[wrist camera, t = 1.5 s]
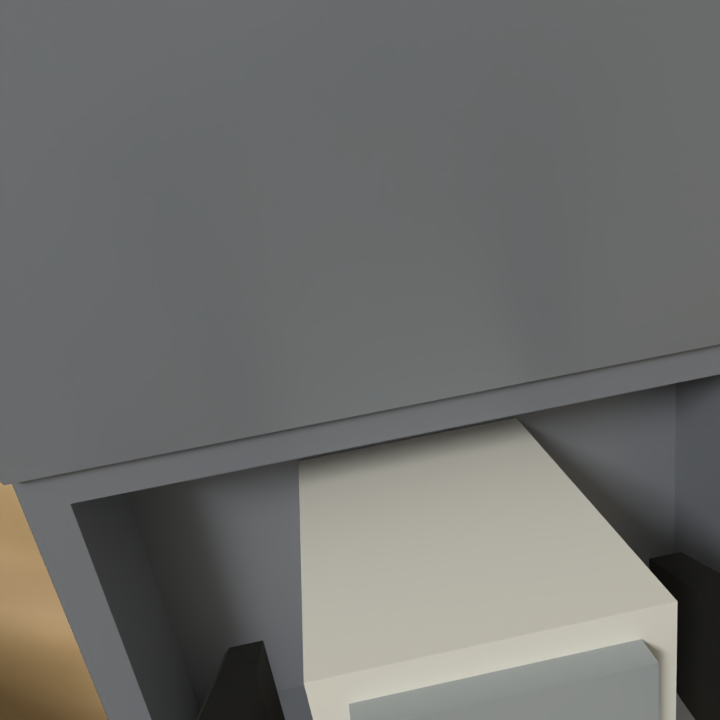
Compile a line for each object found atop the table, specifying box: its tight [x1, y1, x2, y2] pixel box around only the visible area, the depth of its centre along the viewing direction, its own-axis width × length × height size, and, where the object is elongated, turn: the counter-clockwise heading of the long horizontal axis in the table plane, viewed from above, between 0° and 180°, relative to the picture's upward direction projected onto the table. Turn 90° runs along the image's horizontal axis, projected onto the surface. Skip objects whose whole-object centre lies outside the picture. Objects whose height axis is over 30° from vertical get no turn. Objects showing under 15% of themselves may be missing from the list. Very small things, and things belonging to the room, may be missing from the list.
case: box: [0, 0, 720, 720], centre depth 10 cm, size 17×14×7 cm
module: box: [299, 418, 678, 720], centre depth 11 cm, size 5×5×6 cm
